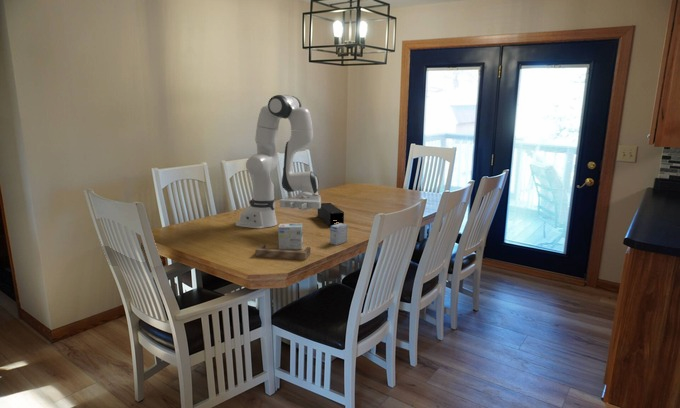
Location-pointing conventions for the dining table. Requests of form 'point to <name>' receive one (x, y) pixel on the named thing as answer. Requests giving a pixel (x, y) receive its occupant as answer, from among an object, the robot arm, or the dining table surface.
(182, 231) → the dining table surface
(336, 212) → the long black box
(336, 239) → the medicine box
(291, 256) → the walnut corral
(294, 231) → the light bulb box
